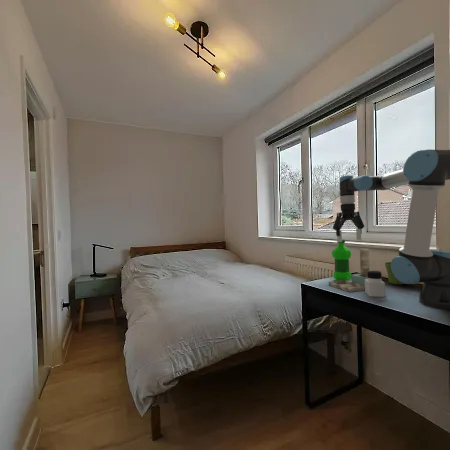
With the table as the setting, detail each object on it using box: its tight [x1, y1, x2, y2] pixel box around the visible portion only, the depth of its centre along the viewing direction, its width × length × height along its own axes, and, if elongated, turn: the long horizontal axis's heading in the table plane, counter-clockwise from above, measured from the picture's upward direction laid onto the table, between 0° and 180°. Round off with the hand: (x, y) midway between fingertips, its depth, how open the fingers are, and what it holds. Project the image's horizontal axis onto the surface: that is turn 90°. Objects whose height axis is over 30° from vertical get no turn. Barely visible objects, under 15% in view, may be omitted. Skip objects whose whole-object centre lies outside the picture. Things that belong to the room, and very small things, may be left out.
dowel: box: [359, 248, 370, 277], centre depth 149 cm, size 4×4×20 cm
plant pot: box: [383, 261, 405, 285], centre depth 152 cm, size 12×12×11 cm
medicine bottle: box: [364, 269, 386, 298], centre depth 134 cm, size 7×7×12 cm
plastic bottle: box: [331, 238, 352, 281], centre depth 161 cm, size 10×10×25 cm
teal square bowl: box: [351, 273, 368, 285], centre depth 150 cm, size 10×10×6 cm
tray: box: [328, 280, 365, 293], centre depth 148 cm, size 16×11×2 cm
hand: (349, 241), depth 154 cm, fingers open, 13 cm apart
